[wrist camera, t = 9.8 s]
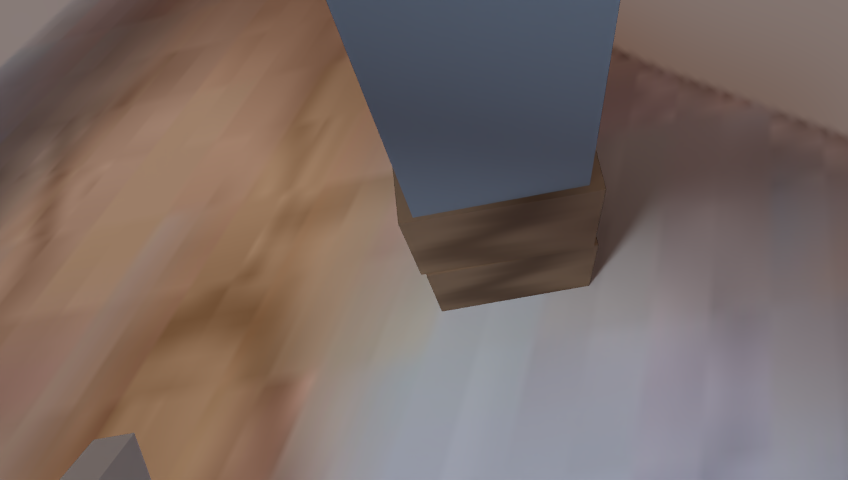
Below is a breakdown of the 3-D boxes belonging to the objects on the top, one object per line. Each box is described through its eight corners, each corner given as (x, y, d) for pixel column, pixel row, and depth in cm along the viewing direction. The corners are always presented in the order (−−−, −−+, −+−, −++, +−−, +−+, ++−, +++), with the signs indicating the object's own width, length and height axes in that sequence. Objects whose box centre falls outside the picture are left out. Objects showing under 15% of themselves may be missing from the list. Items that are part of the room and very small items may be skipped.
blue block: (412, 217, 22) (295, -76, 11) (393, 77, 25) (282, -275, 14) (589, 185, 22) (646, -156, 11) (552, 44, 24) (566, -349, 13)
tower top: (421, 274, 27) (398, 223, 22) (405, 131, 30) (381, 60, 25) (593, 247, 26) (606, 189, 21) (559, 103, 29) (564, 25, 24)
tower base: (442, 311, 31) (426, 275, 27) (423, 185, 34) (406, 133, 30) (588, 286, 31) (598, 245, 26) (556, 159, 33) (560, 102, 29)
